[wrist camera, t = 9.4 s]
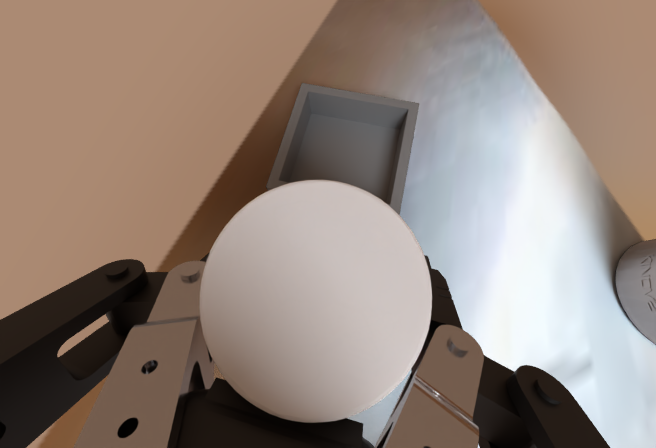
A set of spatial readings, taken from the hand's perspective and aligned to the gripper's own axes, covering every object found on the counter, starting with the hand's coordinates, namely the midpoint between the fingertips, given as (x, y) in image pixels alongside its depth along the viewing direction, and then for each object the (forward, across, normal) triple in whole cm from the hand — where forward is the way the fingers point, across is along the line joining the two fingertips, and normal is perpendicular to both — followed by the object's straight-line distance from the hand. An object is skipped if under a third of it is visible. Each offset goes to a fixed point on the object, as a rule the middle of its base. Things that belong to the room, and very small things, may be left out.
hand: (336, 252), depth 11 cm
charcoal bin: (+14, +2, 0) cm, 14 cm away
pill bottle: (+3, 0, +5) cm, 6 cm away
